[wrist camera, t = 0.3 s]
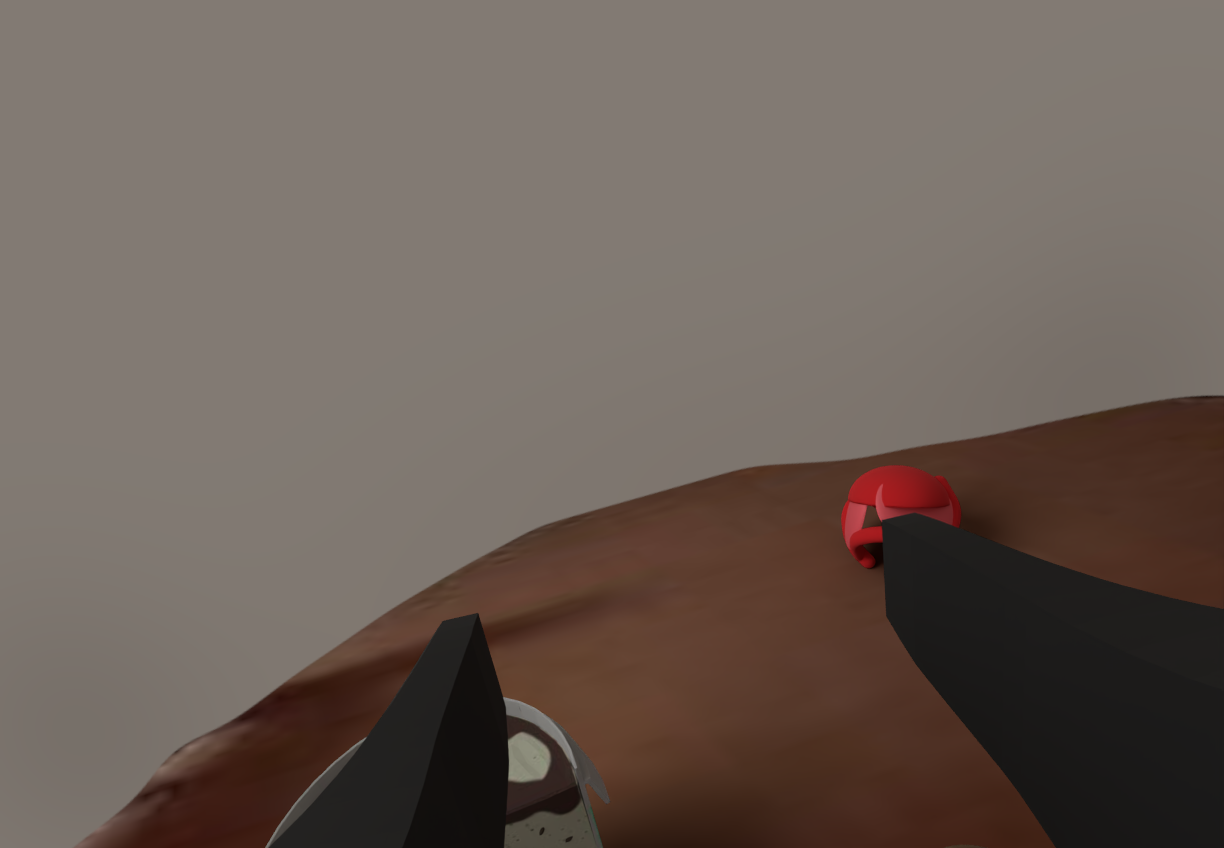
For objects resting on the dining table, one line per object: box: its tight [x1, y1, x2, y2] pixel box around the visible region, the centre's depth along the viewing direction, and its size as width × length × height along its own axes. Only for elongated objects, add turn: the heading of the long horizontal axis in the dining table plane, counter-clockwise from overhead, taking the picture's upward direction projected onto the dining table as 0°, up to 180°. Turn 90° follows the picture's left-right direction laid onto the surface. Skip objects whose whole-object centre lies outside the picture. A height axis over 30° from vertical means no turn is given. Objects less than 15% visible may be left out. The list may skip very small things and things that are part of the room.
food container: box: [266, 697, 610, 848], centre depth 28 cm, size 12×6×10 cm, turn 102°
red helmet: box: [841, 465, 961, 568], centre depth 42 cm, size 8×6×6 cm
